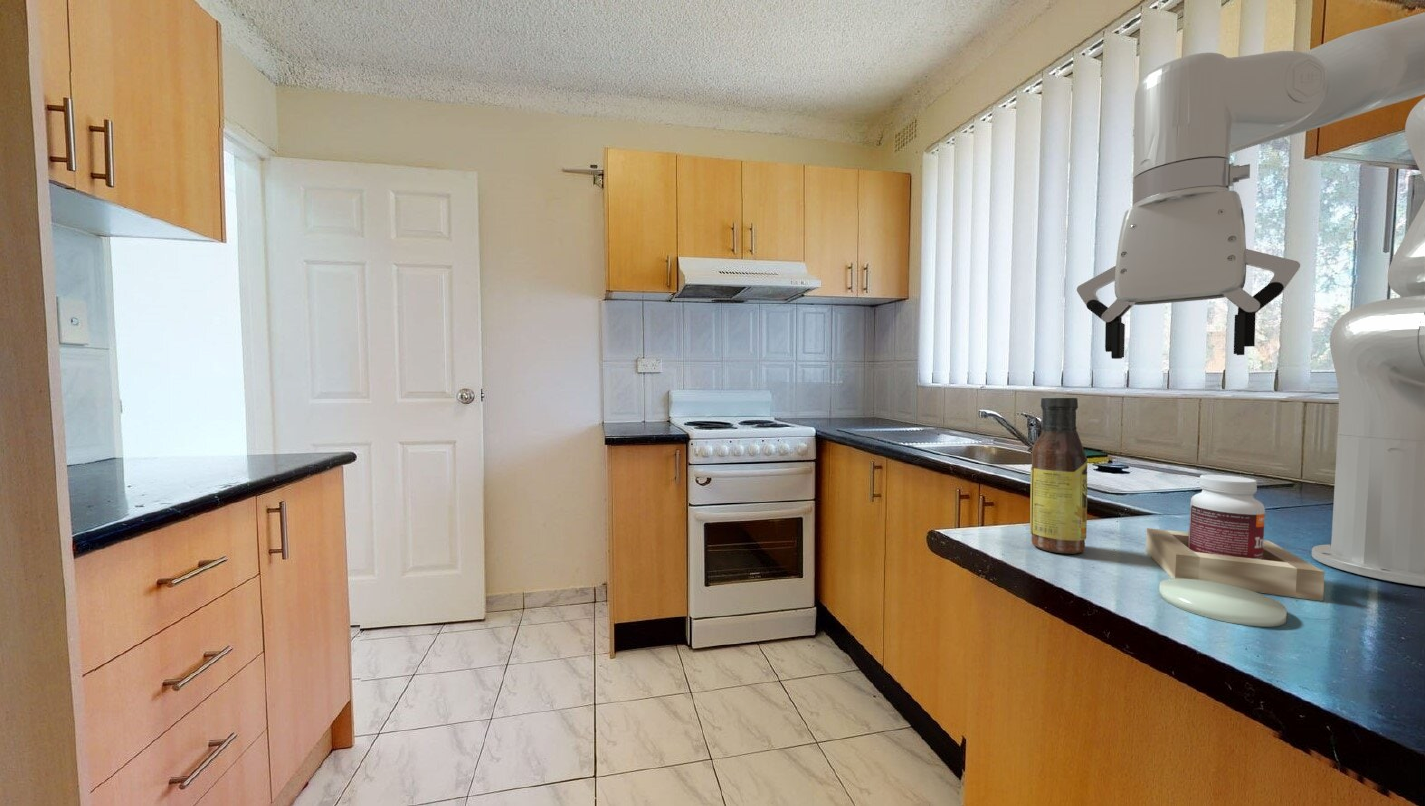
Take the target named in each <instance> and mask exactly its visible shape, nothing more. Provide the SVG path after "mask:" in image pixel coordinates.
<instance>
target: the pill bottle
mask: <svg viewBox="0 0 1425 806" xmlns="http://www.w3.org/2000/svg"><path fill="white" fill-rule="evenodd" d="M1198 485H1199V488H1201V489H1202V490H1201V492H1198V493H1196V494H1194V495H1193V496H1192V497H1191V498H1190V506H1189V507H1190V508H1189V524H1188V526H1189V527H1188V532H1189V543H1188V548H1189V549H1190V550H1192V551H1193V552H1200V553H1208V554H1217V555H1226V556H1235V557H1243V558H1252V559H1261V560H1262V559H1263V540H1264V536H1265V517H1266V508H1265V506H1264V504H1263V503H1262V502H1261V501H1260V500H1259V499H1258V500H1257V499H1256V498H1254V494H1256V493H1257V491H1258V488H1257V487H1258V486H1257V485H1258V482H1257V480H1255V479H1254V478H1253V479H1252V478H1247V477H1243V476H1235V475H1224V474H1223V475H1222V474H1201V475H1200V476H1199V482H1198Z"/></svg>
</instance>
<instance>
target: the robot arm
mask: <svg viewBox="0 0 1425 806" xmlns="http://www.w3.org/2000/svg"><path fill="white" fill-rule="evenodd" d="M1134 93H1135V94H1134V110H1133V111H1134V112H1133V113H1134V115H1133V116H1134V119H1133V120H1134V122H1133V124H1134V126H1133V159H1132V160H1133V162H1132V163H1133V165H1132V167H1133V168H1132V169H1133V170H1132V208H1129V209H1127V210H1126V211H1125V212H1124V215H1123V218H1122V223H1121V227H1120V232H1119V238H1118V243H1117V252H1116V260H1115V266H1112V267H1111V268H1109V269H1107V270H1106V271H1103V272H1101V273H1099V274H1098V275H1096V276H1094V277H1092V278H1090V279H1088V280H1087V281H1085V282H1083V283H1081V284H1079V285H1078V286H1077V287H1076V292H1077V294H1078V295H1079V297H1080V299H1081V300H1082V301H1083V303H1084V304H1085V306H1086V308H1087V310H1089V311H1090V312H1092V313H1093V314H1094V315H1095V316H1096V317H1098V318H1099V319H1100V320H1102V321H1103V322H1104V323H1105V331H1104V333H1105V335H1104V336H1105V337H1104V339H1105V340H1104V348H1105V349H1104V350H1105V352H1106V353H1108V352H1109V353H1110V356H1111V359H1114V360H1121V359H1123V358H1124V357H1125V341H1126V340H1125V337H1126V336H1125V332H1126V324H1125V323H1123V321H1122V320H1123V319H1122V318H1123V317H1124V315H1125V314H1126V313H1128V311H1129V310H1131V308H1132V307H1134V306H1149V305H1158V304H1171V303H1183V302H1193V301H1194V302H1195V301H1205V300H1217V299H1223V298H1226V299H1227V300H1229V302H1231V303H1232V304H1233V305H1234V306H1236V307H1237V314H1234V329H1233V333H1234V334H1233V354H1234V355H1236V356H1245V352H1246V351H1245V347H1246V348H1247V347H1255V346H1256V345H1255V344H1256V314H1257V313H1258V312H1259V311H1260V310H1261V309H1263V308H1264V307H1265V306H1267V305H1268V304H1270V303H1271V302H1272V301H1274V300H1275V299H1276V298H1278V296H1280V295H1281V294H1282V293H1283V292H1284V290H1285V289H1286V287H1287V286H1288V285H1289V283H1290V282H1291V281H1292V280H1293V278H1294V277H1295V275H1296V274H1297V273H1298V271H1299V270H1300V267H1301V263H1300V261H1297V260H1294V259H1290V258H1285V257H1281V256H1278V255H1274V254H1269V253H1266V252H1261V251H1256V250H1253V249H1250V248H1249V249H1248V248H1247V246H1246V245H1247V244H1246V243H1247V242H1246V223H1245V214H1244V209H1243V204H1242V201H1241V198H1240V194H1239V193H1238V192H1237V191H1235V190H1230V187H1234V184H1235V183H1239V182H1240V181H1242V180H1247V179H1250V178H1251V164H1250V163H1248V164H1243V165H1240V164H1237V165H1235V164H1234V162H1232V163H1230V161H1231V154H1233V153H1237V152H1239V151H1243V150H1246V149H1248V148H1252V147H1254V146H1255V147H1256V146H1258V145H1261V144H1265V143H1268V142H1272V141H1275V140H1278V139H1281V138H1282V139H1283V138H1286V137H1289V136H1290V137H1291V136H1294V135H1297V134H1300V133H1301V134H1302V133H1304V132H1308V131H1312V130H1315V129H1319V128H1322V127H1325V126H1328V125H1330V124H1333V123H1337V122H1340V121H1342V120H1346V119H1350V118H1353V117H1356V116H1359V115H1361V114H1365V113H1368V112H1371V111H1375V110H1377V109H1381V108H1383V107H1386V106H1387V107H1388V106H1391V105H1394V104H1397V103H1402V102H1404V101H1407V100H1411V99H1414V98H1417V97H1421V96H1423V95H1425V12H1421V13H1418V14H1414V15H1412V16H1408V17H1404V18H1403V17H1402V18H1401V19H1397V20H1393V21H1390V22H1386V23H1382V24H1379V25H1375V26H1373V27H1368V28H1364V29H1360V30H1356V31H1353V32H1350V33H1349V32H1348V33H1347V34H1343V35H1342V36H1340V37H1337V38H1335V39H1332V40H1329V41H1327V42H1324V43H1323V44H1319V45H1318V46H1315V47H1313V48H1311V49H1309V50H1307V51H1304V52H1303V51H1297V50H1279V51H1278V50H1277V51H1271V52H1265V53H1257V54H1251V55H1250V54H1249V55H1242V56H1234V57H1228V56H1226V55H1224V54H1222V53H1217V52H1200V53H1195V54H1194V53H1193V54H1190V55H1185V56H1182V57H1179V58H1176V59H1173V60H1171V61H1168V62H1166V63H1164V64H1162V65H1159V66H1158V67H1156V68H1155V69H1153V70H1152V71H1150V72H1149V73H1148V74H1146V75H1145V76H1144V77H1143V78H1142V79H1141V81H1140V82H1139V83H1138V85H1137V87H1136V89H1135V92H1134ZM1404 128H1405V129H1404V132H1405V133H1404V134H1405V139H1406V143H1407V145H1408V147H1409V150H1410V152H1411V155H1412V157H1413V159H1414V161H1415V164H1416V165H1417V167H1418V169H1419V171H1420V174H1421V176H1422V178H1423V181H1424V182H1425V97H1423V98H1422V99H1421V100H1420V101H1418V102H1417V103H1416V104H1415V105H1414V106H1413V108H1411V110H1410V112H1409V113H1408V116H1407V118H1406V122H1405V126H1404ZM1423 200H1424V201H1423V202H1422V204H1421V206H1420V208H1419V209H1418V212H1417V213H1416V215H1415V217H1414V219H1413V221H1412V222H1411V224H1410V226H1409V228H1408V230H1407V231H1406V233H1405V235H1404V237H1403V238H1402V240H1401V242H1400V243H1399V246H1398V248H1397V249H1396V251H1395V252H1394V253H1395V254H1394V255H1393V258H1392V260H1391V262H1390V265H1389V267H1388V272H1387V281H1388V285H1389V288H1390V289H1391V290H1392V291H1393V292H1394V293H1395V294H1397V295H1398V296H1400V297H1395V298H1389V299H1382V300H1378V301H1373V302H1368V303H1365V304H1363V305H1359V306H1357V307H1355V308H1352V309H1351V310H1348V311H1347V312H1346V313H1344V314H1343V315H1342V316H1341V317H1339V318H1338V319H1337V320H1336V322H1335V324H1334V325H1333V327H1332V328H1331V332H1330V335H1329V348H1330V355H1331V358H1332V363H1333V367H1334V371H1335V377H1336V383H1337V391H1338V419H1337V420H1338V423H1337V425H1338V426H1337V435H1336V436H1337V437H1336V455H1335V456H1336V457H1335V471H1334V473H1335V475H1334V489H1333V491H1334V492H1333V508H1332V524H1331V525H1332V526H1331V542H1330V543H1331V544H1319V545H1315V546H1313V547H1311V556H1312V558H1313V559H1314V560H1316V561H1318V562H1319V563H1321V564H1324V565H1326V566H1328V567H1332V568H1335V569H1337V570H1341V571H1345V572H1348V573H1353V574H1356V575H1359V576H1364V577H1369V578H1373V579H1378V580H1382V581H1387V582H1393V583H1398V584H1404V585H1410V586H1416V587H1417V586H1418V587H1423V588H1424V587H1425V199H1423ZM1247 266H1248V267H1249V266H1250V267H1254V268H1258V269H1262V270H1266V271H1270V272H1272V273H1273V276H1272V278H1271V280H1270V281H1269V282H1268V283H1267V285H1265V286H1264V287H1262V289H1260V290H1259V291H1258V292H1256V293H1255V294H1254V295H1253V296H1252V295H1251V294H1250V293H1248V292H1247V291H1246V290H1245V289H1244V287H1245V283H1246V279H1247ZM1113 282H1114V285H1113V286H1114V294H1115V297H1116V299H1115V300H1114V302H1112V303H1111V305H1110V306H1107V305H1106V304H1104V303H1103V302H1101V301H1100V299H1099V297H1098V295H1097V291H1098V290H1100V289H1102V288H1104V287H1105V286H1107V285H1110V284H1111V283H1113Z"/></svg>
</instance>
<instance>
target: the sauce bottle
mask: <svg viewBox="0 0 1425 806" xmlns="http://www.w3.org/2000/svg"><path fill="white" fill-rule="evenodd" d="M1040 408H1041V411H1042V416H1041V417H1042V418H1041V419H1042V423H1041V424H1042V425H1041V430H1042V431H1041V433H1040V435H1039V437H1038V438H1037V439H1036V440H1035V442H1034V443H1033V446H1032V449H1031V467H1030V498H1029V499H1030V507H1029V508H1030V510H1029V511H1030V512H1029V514H1030V515H1029V517H1030V518H1029V520H1030V522H1029V523H1030V524H1029V525H1030V527H1029V528H1030V529H1029V532H1030V534H1031V536H1030V539H1031V540H1030V541H1031V543H1032V545H1033V546H1034V547H1035V548H1038V549H1040V550H1042V551H1046V552H1050V553H1058V554H1070V555H1071V554H1072V555H1074V554H1080V553H1082V552H1083V551H1084V550H1085V548H1086V547H1085V546H1086V542H1085V540H1086V539H1087V526H1088V525H1087V522H1088V521H1087V517H1088V511H1087V510H1088V458H1087V455H1086V453H1085V449H1084V446H1083V443H1082V442H1081V439H1080V435H1079V433H1078V430H1077V428H1078V427H1077V410H1078V408H1079V403H1078V397H1076V396H1075V397H1073V396H1071V397H1067V396H1065V397H1062V396H1056V397H1055V396H1044V397H1041V399H1040Z"/></svg>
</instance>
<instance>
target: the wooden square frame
mask: <svg viewBox="0 0 1425 806" xmlns="http://www.w3.org/2000/svg"><path fill="white" fill-rule="evenodd" d="M1145 537H1146V538H1145V540H1146V542H1145V552H1146V553H1147V554H1148V555H1149V556H1150V557H1151V559H1152V560H1154V562H1156V563H1157V564H1158V565H1159V567H1160V568H1161V569H1162V570H1164V572H1165V573H1166V574H1167V575H1168V576H1169V577H1170V579H1175V578H1183V579H1197V580H1205V581H1211V582H1217V583H1222V584H1227V585H1231V586H1235V587H1239V588H1243V589H1247V590H1250V591H1253V592H1256V593H1259V594H1267V595H1275V596H1282V597H1287V598H1288V597H1289V598H1296V599H1297V598H1298V599H1304V600H1305V599H1306V600H1311V601H1319V602H1323V601H1324V590H1325V589H1324V588H1325V571H1324V570H1322V569H1320V568H1319V567H1318V566H1317V567H1316V566H1315V565H1313V564H1312V563H1310V562H1309V561H1306V560H1304V559H1302V558H1301V557H1299V556H1297V555H1295V554H1293V553H1292V552H1290V551H1289V550H1286V549H1284V548H1283V547H1281V546H1279V545H1278V544H1275V543H1274V542H1272V541H1270V540H1266V539H1263V559H1262V560H1261V559H1252V558H1243V557H1235V556H1226V555H1217V554H1208V553H1200V552H1193V551H1192V550H1190V549H1189V548H1188V543H1189V531H1188V532H1187V531H1180V530H1179V531H1177V530H1166V529H1158V528H1157V529H1156V528H1146V536H1145Z"/></svg>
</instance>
